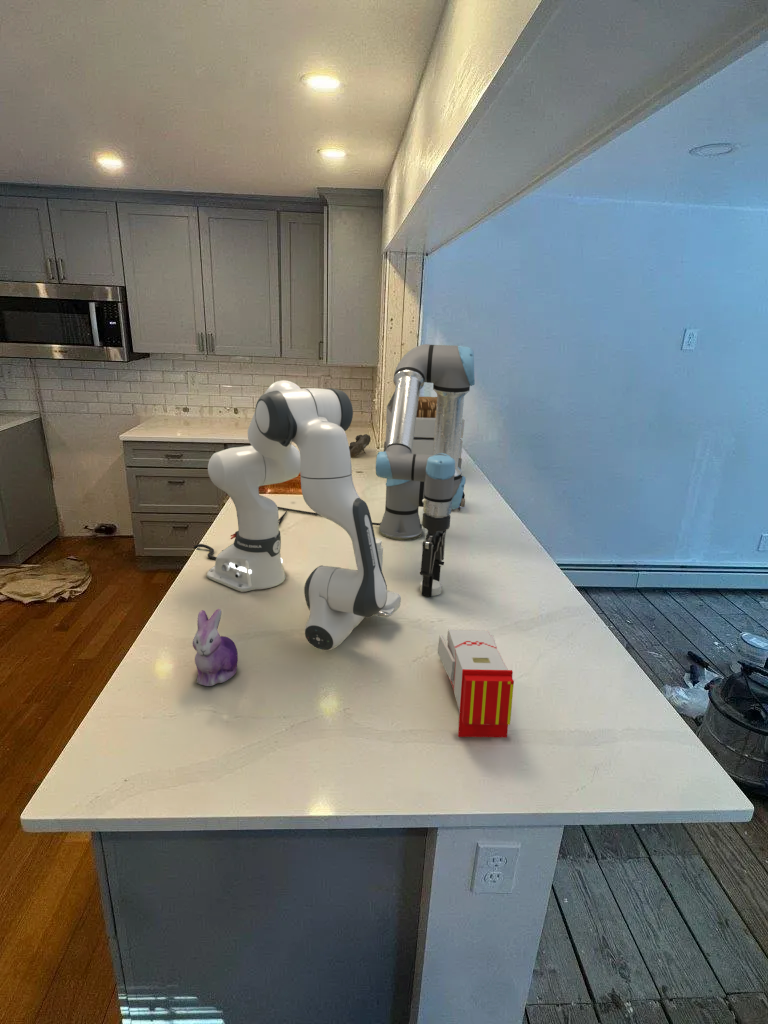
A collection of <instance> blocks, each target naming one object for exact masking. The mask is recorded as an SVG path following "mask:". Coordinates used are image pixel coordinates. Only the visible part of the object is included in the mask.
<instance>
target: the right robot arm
mask: <svg viewBox="0 0 768 1024" xmlns="http://www.w3.org/2000/svg"><path fill="white" fill-rule="evenodd" d="M475 379H476V378H475V353H474V350H473V348H472V347H470V346H464V345H455V344H454V345H451V344H450V345H449V344H430V343H429V344H428V343H425V344H424V343H423V344H419V345H417V346H415V347H413V348H411V349H410V350H409V351H407V352H406V353H405V354H404V355H403V357H401V359H400V361H398V363H397V365H396V367H395V370H394V373H393V381H392V382H393V384H394V386H395V388H394V389H395V390H394V392H395V394H394V393H393V394H394V400H393V407H392V413H391V419H390V426H389V432H388V439H387V445H386V451H384V450H383V451H379V452H377V455H376V459H375V474H376V476H377V477H378V478H380V479H386V482H385V487H386V488H385V504H384V505H385V507H384V508H385V509H384V513H383V515H382V519H381V522H372V525H373V526H378V533H379V534H380V535H381V536H382V537H385V538H387V539H389V540H395V541H410V540H415V539H418V538H420V537H421V536H422V535H423V528H424V529H425V530H427V533H426V534H425V540H423V541H422V554H421V563H420V571H419V575H421V576H422V581H423V582H422V593H421V596H424V597H428V598H431V597H433V596H432V584H433V580H437V581H439V582H440V579H441V568H442V566H445V561H444V559H445V548H446V547H445V545H446V534H447V531H448V530H449V529H450V527H451V514H452V509H453V510H456V509H458V507H459V506H460V503H461V499H462V495H463V491H464V490H465V484H466V477H465V476H464V475H463V474H462V473H463V471H462V468H461V469H460V468H459V467H458V459H459V448H460V439H461V438H460V437H461V426H462V419H463V414H464V403H465V396H466V395H467V394H468V393H469V392H470V388H471V387H473V386H474V385H475V384H476V381H475ZM425 383H428V384H432V390H433V391H434V392H435V393H436V397H437V406H436V420H435V434H434V448H433V455H419V454H411V453H412V447H413V439H414V431H415V424H416V416H417V409H418V401H419V397H420V392H421V389H423V388H424V385H425ZM277 507H278V510H282V511H287V512H294V513H300V514H306V515H313V516H320V515H319V514H317V513H316V512H314V511H305V510H300V509H293V508H288V507H281V506H277ZM420 507H421V508H423V509H422V511H423V513H422V520H421V518H420V515H419V508H420ZM460 507H461V506H460ZM320 517H321V516H320ZM421 521H422V522H421Z"/></svg>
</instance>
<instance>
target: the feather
mask: <svg viewBox="0 0 768 1024" xmlns="http://www.w3.org/2000/svg"><path fill="white" fill-rule="evenodd" d="M287 512H288V511H287V510H285V512H284V513H283V514H282V515H281V517H280V518H279V526H280V525H281V524H282V522H283V519H284V518H285V516H286V514H287Z"/></svg>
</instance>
